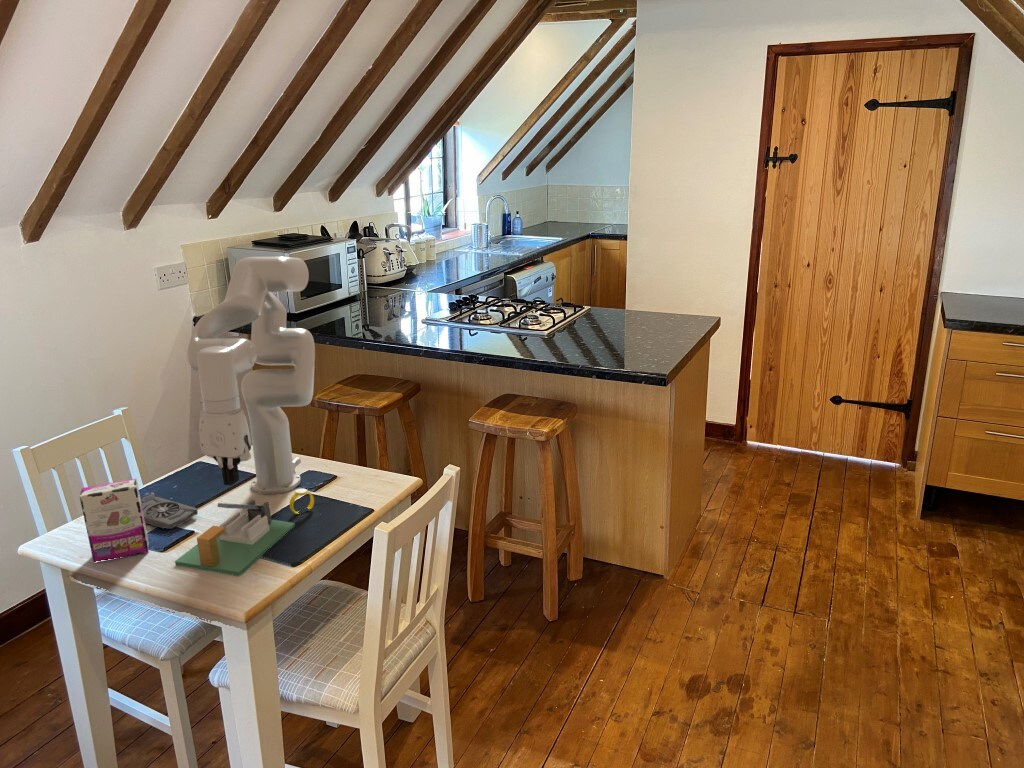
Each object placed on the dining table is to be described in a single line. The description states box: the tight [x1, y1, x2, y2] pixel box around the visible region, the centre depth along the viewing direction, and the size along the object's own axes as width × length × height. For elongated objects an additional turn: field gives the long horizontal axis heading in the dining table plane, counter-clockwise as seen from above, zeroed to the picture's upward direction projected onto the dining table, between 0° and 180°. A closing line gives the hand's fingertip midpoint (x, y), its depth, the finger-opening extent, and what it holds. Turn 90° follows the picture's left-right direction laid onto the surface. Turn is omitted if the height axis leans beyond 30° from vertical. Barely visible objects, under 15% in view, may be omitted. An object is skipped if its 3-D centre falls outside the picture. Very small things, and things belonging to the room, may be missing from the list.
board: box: [174, 499, 296, 577], centre depth 175 cm, size 22×16×6 cm
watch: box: [289, 488, 315, 515], centre depth 190 cm, size 6×3×6 cm, turn 133°
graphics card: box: [140, 492, 199, 530], centre depth 187 cm, size 17×4×12 cm
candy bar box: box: [79, 478, 150, 563], centre depth 170 cm, size 11×5×16 cm, turn 114°
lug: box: [196, 525, 226, 567], centre depth 167 cm, size 6×3×6 cm, turn 164°
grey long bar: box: [217, 502, 262, 510], centre depth 176 cm, size 14×2×1 cm, turn 164°
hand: (231, 482), depth 171 cm, fingers closed
